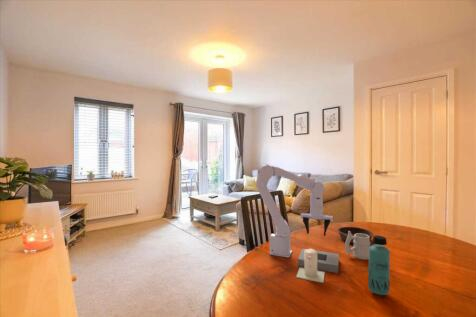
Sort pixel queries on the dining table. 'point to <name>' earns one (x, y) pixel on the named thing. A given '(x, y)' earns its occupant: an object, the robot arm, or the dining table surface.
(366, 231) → the dish
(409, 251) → the dining table surface
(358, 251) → the mug
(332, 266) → the holder
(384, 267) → the beverage bottle
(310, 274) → the cream strapped capsule
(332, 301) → the dining table surface
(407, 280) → the dining table surface
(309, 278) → the mat
